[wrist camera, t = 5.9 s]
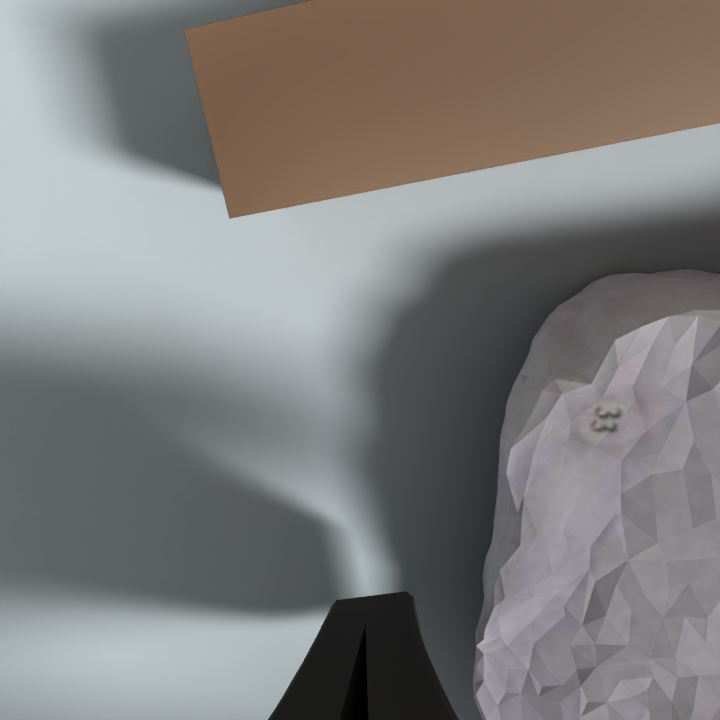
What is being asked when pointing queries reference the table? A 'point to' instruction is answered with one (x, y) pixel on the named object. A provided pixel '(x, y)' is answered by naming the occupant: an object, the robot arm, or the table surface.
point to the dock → (441, 88)
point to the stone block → (609, 512)
